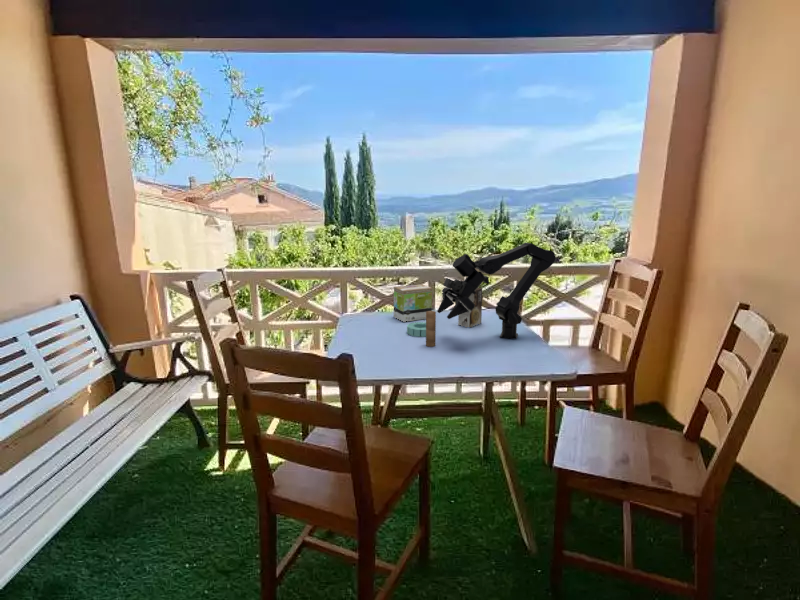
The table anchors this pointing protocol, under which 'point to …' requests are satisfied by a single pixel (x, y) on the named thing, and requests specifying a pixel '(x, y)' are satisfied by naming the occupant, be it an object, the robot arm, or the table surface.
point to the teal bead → (417, 329)
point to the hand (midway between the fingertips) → (442, 315)
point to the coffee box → (476, 314)
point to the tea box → (412, 302)
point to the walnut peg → (430, 328)
